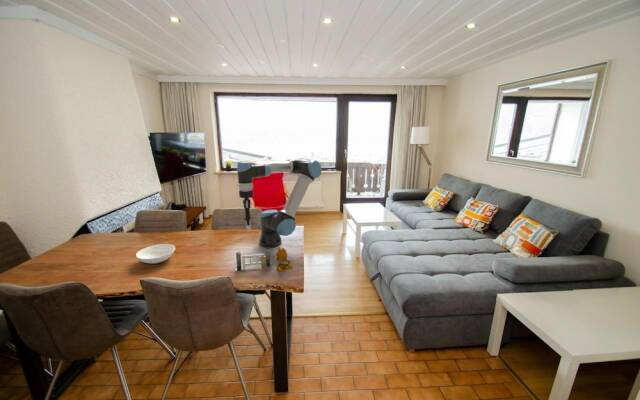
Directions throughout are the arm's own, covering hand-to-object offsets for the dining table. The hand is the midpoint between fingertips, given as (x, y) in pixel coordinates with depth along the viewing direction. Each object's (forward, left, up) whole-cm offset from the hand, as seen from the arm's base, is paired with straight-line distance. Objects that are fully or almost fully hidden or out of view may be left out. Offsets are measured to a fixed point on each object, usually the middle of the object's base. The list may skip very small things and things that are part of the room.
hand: (248, 229), depth 152 cm
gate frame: (+8, +1, -20) cm, 22 cm away
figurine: (+12, +18, -20) cm, 30 cm away
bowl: (-14, -53, -20) cm, 59 cm away
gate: (+8, +2, -20) cm, 21 cm away
